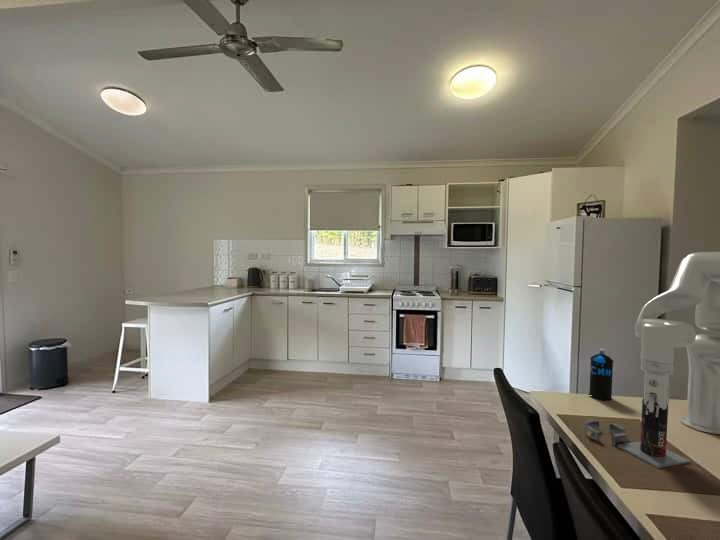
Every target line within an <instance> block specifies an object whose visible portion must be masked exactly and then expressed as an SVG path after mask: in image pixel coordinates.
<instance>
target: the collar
mask: <svg viewBox="0 0 720 540" xmlns="http://www.w3.org/2000/svg"><path fill="white" fill-rule="evenodd" d="M599 427H600V420H597V419H590V420H585V424H584V430H585V434H584V435H585V437H588V439H591V440H592V441H595V442H597V443H599V442H601V435H602V434H601V431H599V429H600V428H599ZM609 433H610V434H611V445H613V446H615V447H617V445H619V444H626V443H628V440H627V439H628V436H627V435H628V434H627V433H626V428H624V427H623V426H621V425H619V424H616V423H614V422H609Z"/></svg>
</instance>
